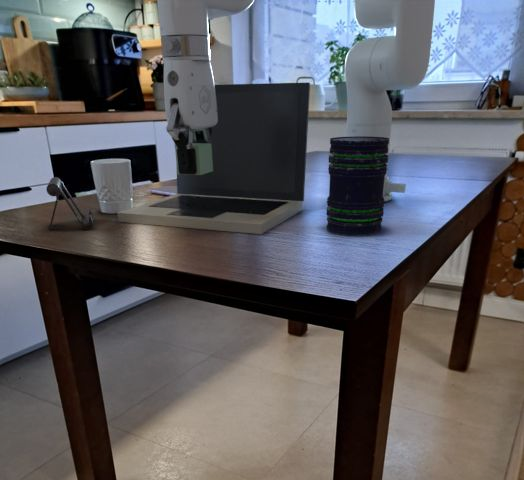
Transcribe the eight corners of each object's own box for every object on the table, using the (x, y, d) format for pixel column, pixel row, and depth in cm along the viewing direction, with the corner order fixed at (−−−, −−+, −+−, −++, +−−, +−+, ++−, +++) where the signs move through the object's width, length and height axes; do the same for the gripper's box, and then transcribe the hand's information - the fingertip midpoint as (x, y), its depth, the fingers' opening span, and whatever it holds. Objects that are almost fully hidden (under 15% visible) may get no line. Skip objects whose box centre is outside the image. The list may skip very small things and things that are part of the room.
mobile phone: (170, 184, 133) (211, 190, 125) (170, 188, 134) (211, 194, 125) (147, 188, 128) (188, 194, 120) (147, 192, 129) (188, 199, 120)
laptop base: (261, 234, 89) (261, 223, 88) (118, 221, 100) (117, 211, 99) (302, 210, 107) (302, 200, 106) (177, 201, 118) (176, 193, 117)
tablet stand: (93, 229, 94) (86, 181, 90) (47, 233, 92) (38, 184, 88) (93, 219, 102) (86, 175, 98) (51, 222, 100) (42, 177, 96)
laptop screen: (308, 82, 99) (310, 83, 100) (173, 85, 109) (176, 86, 110) (302, 201, 106) (303, 201, 107) (177, 193, 117) (179, 193, 118)
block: (213, 171, 91) (211, 143, 89) (201, 175, 87) (198, 146, 85) (190, 170, 93) (188, 143, 91) (177, 174, 89) (174, 145, 87)
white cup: (95, 209, 111) (88, 160, 107) (132, 205, 114) (126, 157, 110) (100, 215, 105) (92, 164, 100) (139, 212, 108) (133, 161, 103)
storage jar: (319, 233, 89) (322, 140, 82) (332, 221, 97) (336, 136, 91) (377, 237, 86) (385, 141, 79) (385, 224, 94) (394, 136, 88)
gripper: (179, 46, 73) (190, 180, 82) (230, 52, 87) (235, 165, 96) (135, 49, 76) (150, 178, 84) (191, 54, 90) (199, 164, 98)
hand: (195, 170), depth 90 cm, fingers closed on block, 4 cm apart
